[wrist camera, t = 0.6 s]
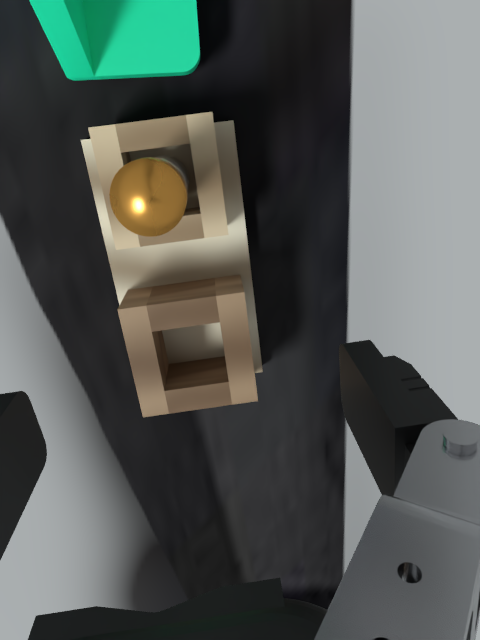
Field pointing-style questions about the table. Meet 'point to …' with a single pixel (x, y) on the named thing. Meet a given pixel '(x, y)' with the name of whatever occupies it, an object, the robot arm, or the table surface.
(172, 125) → the dock board
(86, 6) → the camera mount
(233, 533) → the table surface
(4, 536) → the robot arm
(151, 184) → the lock pin
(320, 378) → the table surface
